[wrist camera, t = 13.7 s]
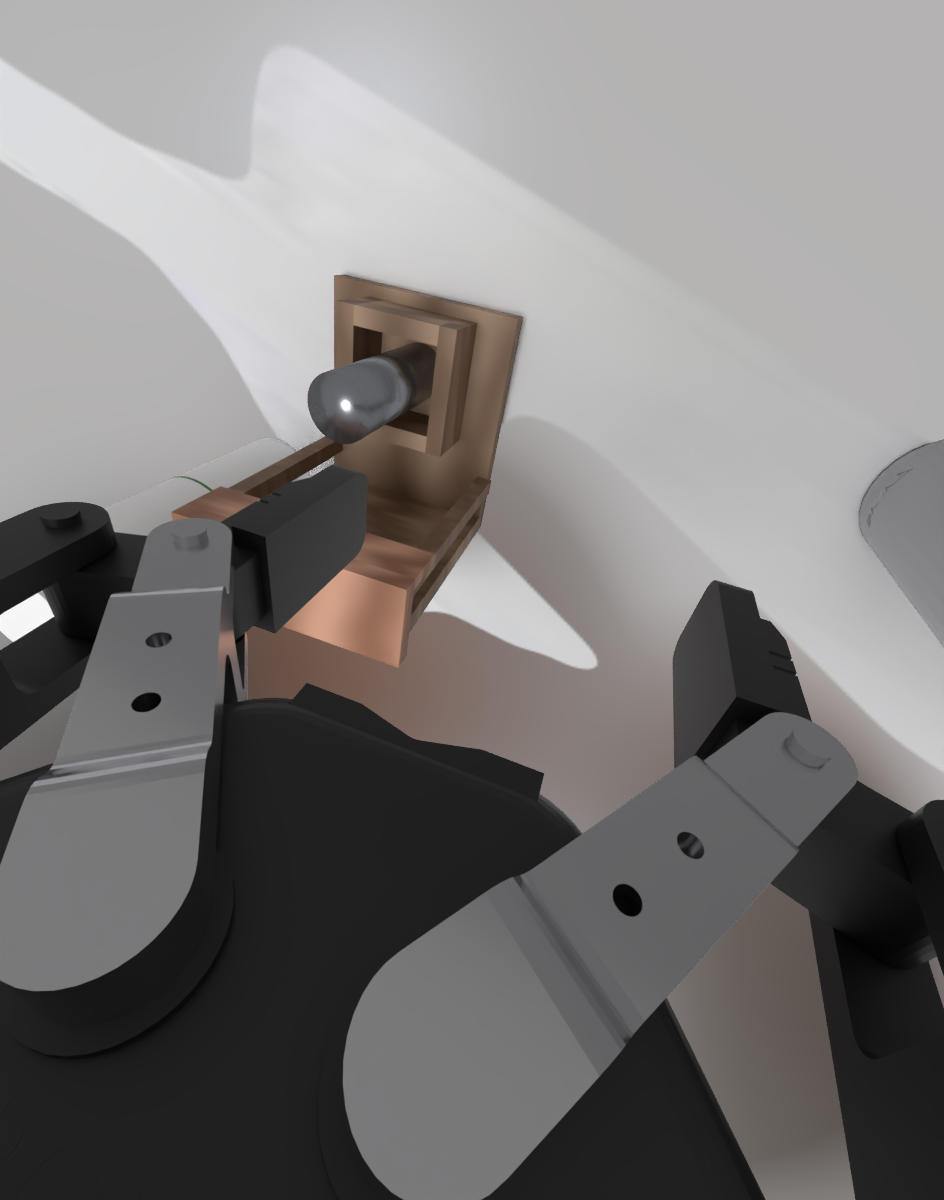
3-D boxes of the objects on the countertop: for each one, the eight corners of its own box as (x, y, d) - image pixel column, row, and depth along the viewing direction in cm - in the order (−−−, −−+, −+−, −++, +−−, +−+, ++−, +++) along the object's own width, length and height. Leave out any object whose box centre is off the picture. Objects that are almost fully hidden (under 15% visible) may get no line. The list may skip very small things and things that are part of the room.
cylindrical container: (266, 511, 52) (28, 664, 32) (234, 443, 49) (-55, 568, 29) (321, 503, 49) (98, 665, 30) (292, 431, 46) (16, 560, 26)
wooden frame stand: (529, 318, 35) (431, 363, 20) (484, 532, 46) (398, 667, 31) (338, 273, 37) (119, 283, 22) (337, 487, 48) (189, 593, 33)
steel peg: (446, 349, 36) (371, 381, 27) (439, 404, 39) (368, 451, 29) (396, 336, 37) (306, 363, 28) (392, 392, 39) (308, 434, 30)
